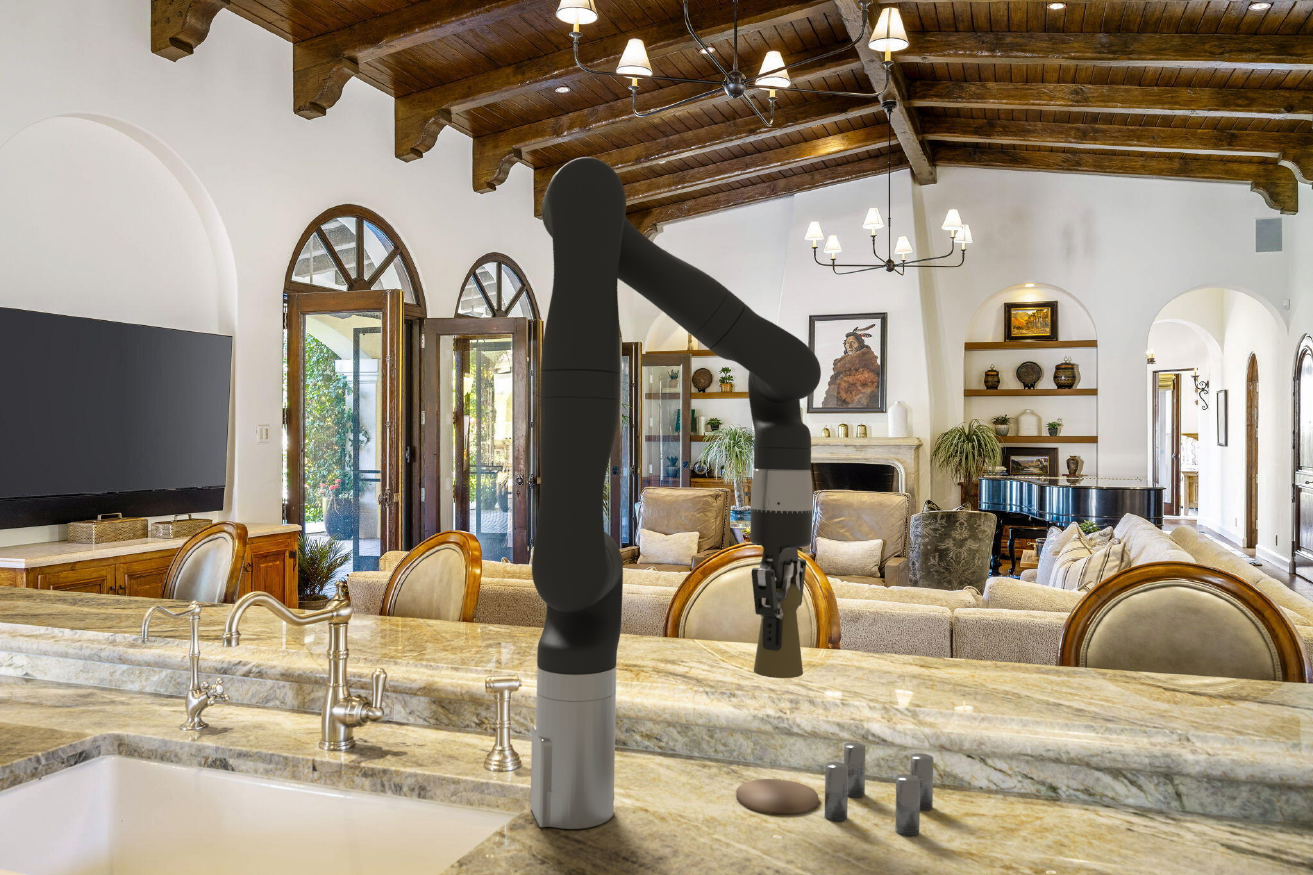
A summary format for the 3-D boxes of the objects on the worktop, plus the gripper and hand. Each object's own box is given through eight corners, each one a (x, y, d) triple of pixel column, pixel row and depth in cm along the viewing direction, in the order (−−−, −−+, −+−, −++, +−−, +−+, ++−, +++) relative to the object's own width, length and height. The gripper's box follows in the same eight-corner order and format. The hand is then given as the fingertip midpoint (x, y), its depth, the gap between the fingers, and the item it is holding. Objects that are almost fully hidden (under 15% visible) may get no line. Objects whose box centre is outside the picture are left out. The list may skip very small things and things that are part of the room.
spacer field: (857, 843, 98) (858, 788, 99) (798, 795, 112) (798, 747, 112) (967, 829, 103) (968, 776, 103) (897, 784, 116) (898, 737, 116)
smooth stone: (756, 819, 105) (756, 813, 105) (723, 787, 114) (723, 783, 114) (833, 809, 108) (833, 804, 108) (795, 780, 117) (795, 775, 117)
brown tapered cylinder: (802, 679, 108) (803, 587, 108) (751, 676, 109) (753, 584, 109) (804, 668, 113) (805, 580, 114) (755, 664, 115) (757, 577, 115)
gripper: (792, 510, 103) (789, 661, 103) (827, 505, 116) (825, 639, 116) (731, 507, 107) (728, 653, 107) (772, 502, 120) (769, 632, 119)
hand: (778, 645), depth 111 cm, fingers closed on brown tapered cylinder, 4 cm apart
